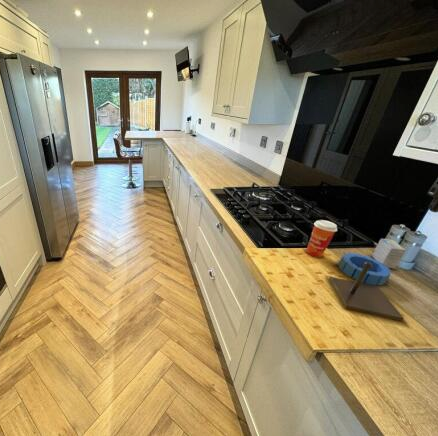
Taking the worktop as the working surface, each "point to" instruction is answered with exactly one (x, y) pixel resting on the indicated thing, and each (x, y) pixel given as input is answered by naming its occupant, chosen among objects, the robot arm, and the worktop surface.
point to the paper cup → (320, 237)
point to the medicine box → (388, 253)
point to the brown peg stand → (364, 296)
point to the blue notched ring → (352, 261)
